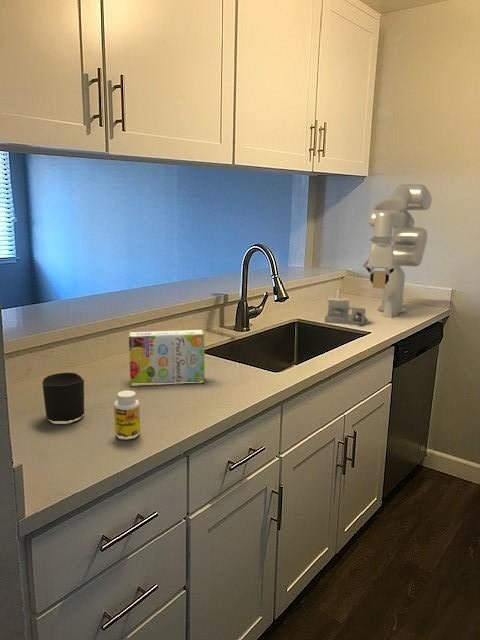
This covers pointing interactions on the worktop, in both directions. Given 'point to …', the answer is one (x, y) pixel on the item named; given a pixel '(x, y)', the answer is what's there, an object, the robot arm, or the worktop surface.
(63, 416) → the pen holder
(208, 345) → the worktop surface
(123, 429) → the supplement bottle
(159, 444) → the worktop surface
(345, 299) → the pipe connector
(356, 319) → the lock pin
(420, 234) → the robot arm
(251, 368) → the worktop surface
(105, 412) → the worktop surface
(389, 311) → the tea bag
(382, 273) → the block
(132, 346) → the snack box
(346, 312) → the bracket
